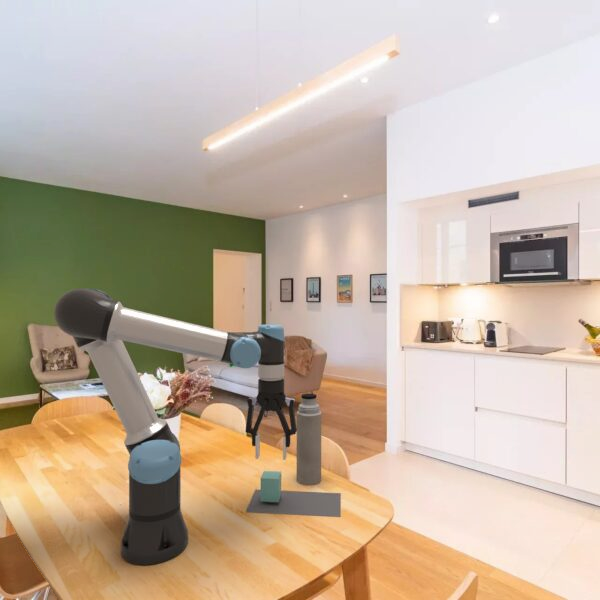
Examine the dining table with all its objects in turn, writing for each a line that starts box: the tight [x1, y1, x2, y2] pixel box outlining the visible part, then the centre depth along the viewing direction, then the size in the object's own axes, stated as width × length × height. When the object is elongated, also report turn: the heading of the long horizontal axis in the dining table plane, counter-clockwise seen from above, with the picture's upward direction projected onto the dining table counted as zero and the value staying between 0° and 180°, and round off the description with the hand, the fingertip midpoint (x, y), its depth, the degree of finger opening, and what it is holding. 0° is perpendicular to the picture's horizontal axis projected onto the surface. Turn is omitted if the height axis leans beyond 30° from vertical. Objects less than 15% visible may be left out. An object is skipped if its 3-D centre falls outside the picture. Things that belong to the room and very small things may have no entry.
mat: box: [245, 488, 342, 518], centre depth 123 cm, size 14×26×1 cm, turn 85°
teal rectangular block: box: [260, 470, 282, 502], centre depth 124 cm, size 5×5×7 cm
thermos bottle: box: [296, 393, 322, 487], centre depth 138 cm, size 8×8×28 cm
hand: (271, 457), depth 124 cm, fingers open, 7 cm apart
